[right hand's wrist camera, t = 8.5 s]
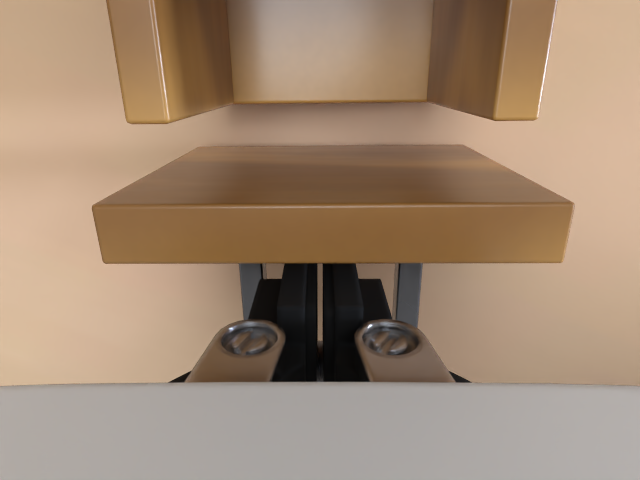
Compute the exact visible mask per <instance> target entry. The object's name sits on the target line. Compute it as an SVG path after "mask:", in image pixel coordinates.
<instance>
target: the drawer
mask: <svg viewBox="0 0 640 480" xmlns="http://www.w3.org/2000/svg"><path fill="white" fill-rule="evenodd" d="M106 2H107V8H108V14H109V20H110V26H111V32H112V38H113V44H114V50H115V56H116V62H117V68H118V74H119V80H120V86H121V92H122V98H123V104H124V110H125V116H126V121H127V122H128V123H130V124H168V123H171V122H175V121H178V120H181V119H185V118H188V117H191V116H195V115H198V114H201V113H205V112H208V111H211V110H215V109H218V108H221V107H225V106H228V105H231V104H299V103H396V102H429V103H433V104H436V105H440V106H444V107H447V108H451V109H454V110H458V111H462V112H465V113H469V114H472V115H476V116H480V117H483V118H487V119H490V120H494V121H533V120H536V119H537V118H538V116H539V110H540V104H541V98H542V92H543V86H544V79H545V73H546V67H547V61H548V55H549V49H550V43H551V37H552V30H553V24H554V18H555V12H556V6H557V0H106ZM574 208H575V205H574V203H573V202H571V201H569V200H567V199H565V198H564V197H562V196H560V195H558V194H556V193H554V192H552V191H550V190H548V189H546V188H544V187H543V186H541V185H539V184H537V183H535V182H533V181H531V180H529V179H527V178H525V177H524V176H522V175H520V174H518V173H516V172H514V171H512V170H510V169H508V168H506V167H504V166H503V165H501V164H499V163H497V162H495V161H493V160H491V159H489V158H487V157H485V156H484V155H482V154H480V153H478V152H476V151H474V150H472V149H470V148H468V147H466V146H464V145H377V146H250V147H198V148H196V149H194V150H192V151H191V152H189V153H187V154H185V155H183V156H181V157H180V158H178V159H176V160H174V161H172V162H170V163H169V164H167V165H165V166H163V167H161V168H160V169H158V170H156V171H154V172H152V173H150V174H149V175H147V176H145V177H143V178H141V179H139V180H138V181H136V182H134V183H132V184H130V185H129V186H127V187H125V188H123V189H121V190H119V191H118V192H116V193H114V194H112V195H110V196H108V197H107V198H105V199H103V200H101V201H99V202H98V203H96V204H94V205H93V206H92V212H93V216H94V221H95V226H96V231H97V236H98V241H99V245H100V250H101V255H102V260H103V262H104V263H106V264H169V263H239V270H240V282H241V294H242V306H243V317H244V320H248V317H249V314H250V310H251V307H252V303H253V300H254V297H255V293H256V290H257V286H258V283H259V280H260V279H267V274H266V263H395V276H394V294H393V312H392V320H398V321H403V322H405V323H408V324H411V325H413V326H414V327H416V328H417V327H418V315H419V302H420V290H421V277H422V265H423V263H562V262H563V260H564V256H565V251H566V246H567V241H568V237H569V232H570V227H571V222H572V217H573V212H574ZM317 382H323V341H317Z"/></svg>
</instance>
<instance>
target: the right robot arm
mask: <svg viewBox="0 0 640 480" xmlns="http://www.w3.org/2000/svg"><path fill="white" fill-rule="evenodd" d="M317 332H318V321H317V263H285V265H284V270H283V275H282V279H260V280H259V283H258V286H257V290H256V293H255V297H254V300H253V303H252V307H251V310H250V314H249V317H248V320H242V321H237V322H235V323H232V324H229V325H227V326H226V327H224V328H222V329H221V330H220V331H219V332H218V333H217V334H216V335H215V337H214V338H213V340H212V341H211V343H210V344H209V346H208V347H207V349H206V350H205V352H204V353H203V355H202V356H201V358H200V359H199V361H198V362H197V364H196V365H195V367H194V368H193V370H192V371H190V372H188V373H186V374H184V375H182V376H180V377H178V378H176V379H174V380H172V381H170V382H168V383H100V384H50V385H17V386H0V480H640V386H626V385H588V384H551V383H472V382H470V381H468V380H466V379H464V378H462V377H460V376H458V375H456V374H454V373H452V372H450V371H448V370H447V368H446V367H445V365H444V364H443V362H442V361H441V359H440V358H439V356H438V355H437V353H436V352H435V350H434V349H433V347H432V346H431V344H430V343H429V341H428V340H427V338H426V337H425V335H424V334H423V333H422V332H421V331H420V330H419V329H418V328H416V327H414V326H413V325H411V324H408V323H405V322H403V321H398V320H392V316H391V313H390V310H389V306H388V303H387V299H386V296H385V292H384V289H383V286H382V282H381V280H380V279H358V274H357V269H356V263H323V382H317Z"/></svg>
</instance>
